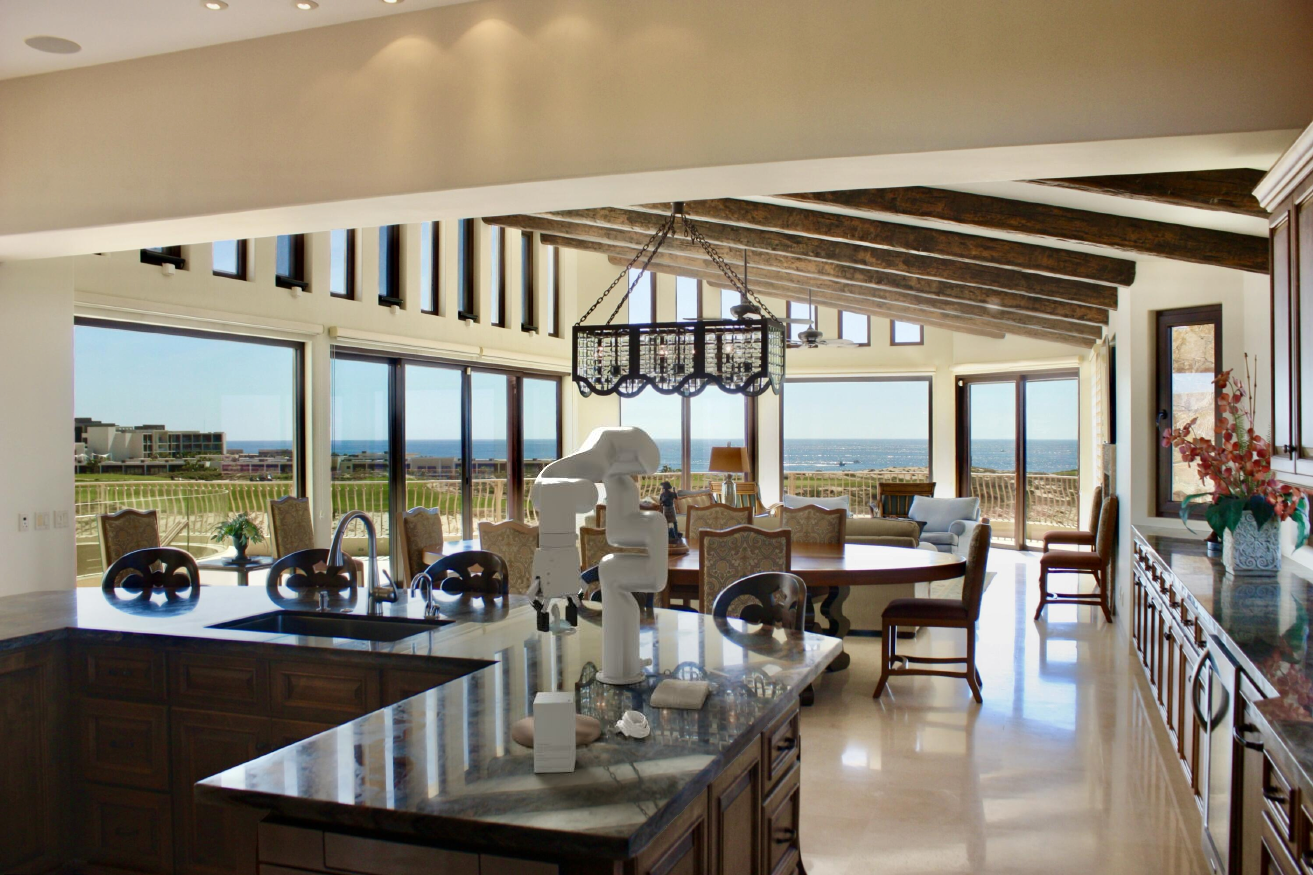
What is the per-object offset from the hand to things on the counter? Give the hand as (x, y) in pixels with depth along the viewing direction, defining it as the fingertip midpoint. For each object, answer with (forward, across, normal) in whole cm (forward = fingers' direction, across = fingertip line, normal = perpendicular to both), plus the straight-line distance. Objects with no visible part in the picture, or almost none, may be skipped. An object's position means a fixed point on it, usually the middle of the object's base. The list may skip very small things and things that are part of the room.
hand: (557, 627), depth 180 cm
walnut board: (+22, 0, 0) cm, 22 cm away
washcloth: (+22, -37, +1) cm, 43 cm away
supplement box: (+22, +12, +14) cm, 29 cm away
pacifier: (+2, -1, +1) cm, 2 cm away
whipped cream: (+22, -11, +11) cm, 27 cm away
